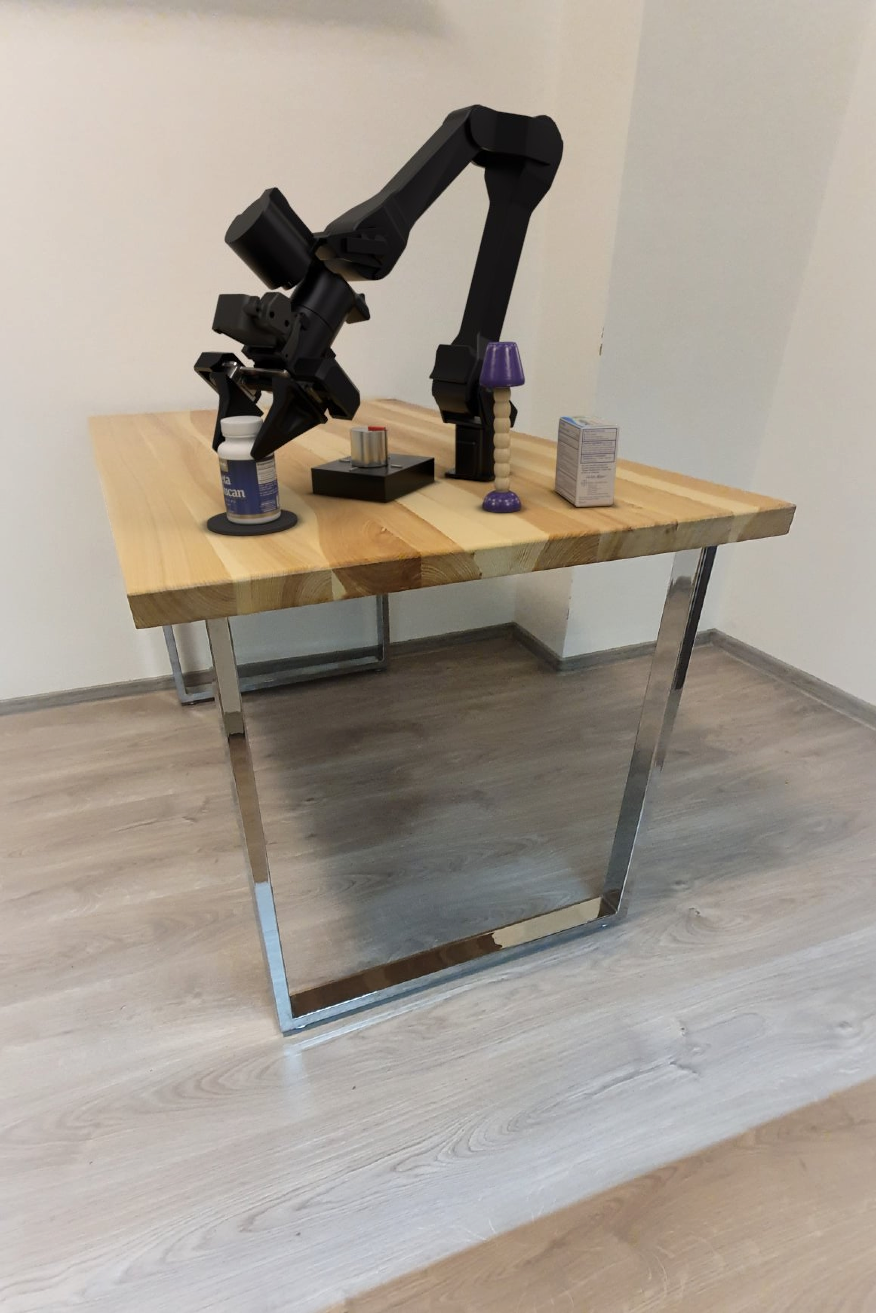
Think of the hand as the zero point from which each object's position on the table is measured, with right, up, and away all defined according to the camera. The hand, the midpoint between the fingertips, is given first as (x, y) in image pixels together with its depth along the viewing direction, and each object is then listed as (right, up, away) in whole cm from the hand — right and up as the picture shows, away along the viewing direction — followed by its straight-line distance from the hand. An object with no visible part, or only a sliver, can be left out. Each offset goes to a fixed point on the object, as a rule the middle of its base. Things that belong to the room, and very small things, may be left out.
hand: (234, 454), depth 70 cm
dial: (+12, +3, +16) cm, 20 cm away
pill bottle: (+1, -6, +4) cm, 7 cm away
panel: (+12, +1, +18) cm, 22 cm away
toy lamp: (+26, -3, +9) cm, 28 cm away
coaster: (+1, -6, +4) cm, 7 cm away
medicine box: (+36, -2, +13) cm, 39 cm away
